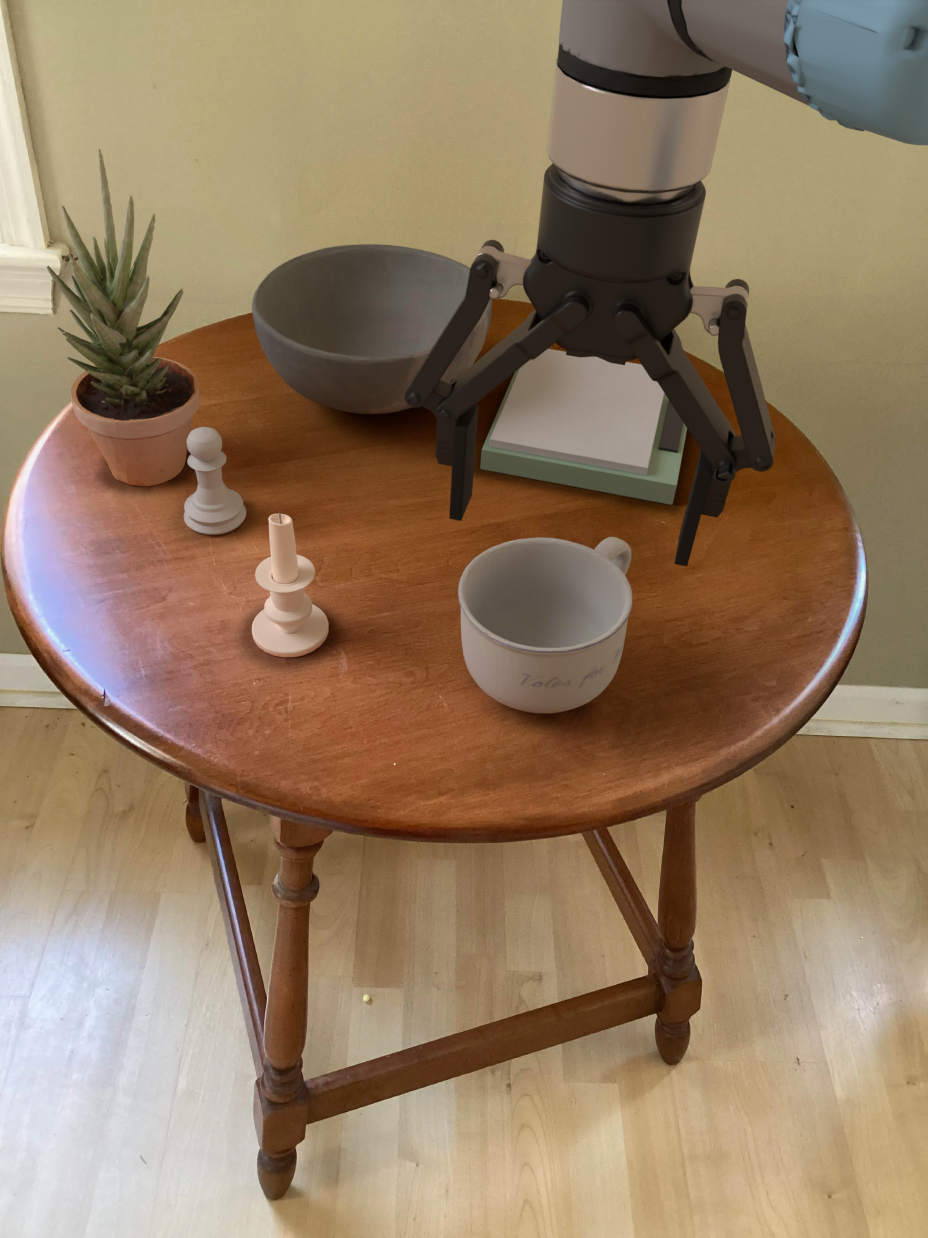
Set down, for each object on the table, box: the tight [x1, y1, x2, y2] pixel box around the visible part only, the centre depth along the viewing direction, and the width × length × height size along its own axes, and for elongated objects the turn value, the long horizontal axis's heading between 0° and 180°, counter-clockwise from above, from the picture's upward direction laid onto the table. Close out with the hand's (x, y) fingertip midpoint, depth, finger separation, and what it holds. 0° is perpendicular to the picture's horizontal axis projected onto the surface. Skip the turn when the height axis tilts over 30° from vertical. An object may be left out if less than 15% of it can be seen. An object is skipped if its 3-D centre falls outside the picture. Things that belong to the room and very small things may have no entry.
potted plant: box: [46, 148, 200, 487], centre depth 77 cm, size 10×10×25 cm
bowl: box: [251, 243, 493, 415], centre depth 91 cm, size 20×20×10 cm
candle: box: [251, 511, 329, 658], centre depth 68 cm, size 5×5×10 cm
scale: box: [480, 348, 688, 506], centre depth 91 cm, size 16×17×3 cm
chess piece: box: [183, 426, 247, 536], centre depth 78 cm, size 5×5×8 cm
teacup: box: [457, 536, 633, 714], centre depth 68 cm, size 14×11×8 cm
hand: (570, 529), depth 63 cm, fingers open, 13 cm apart
